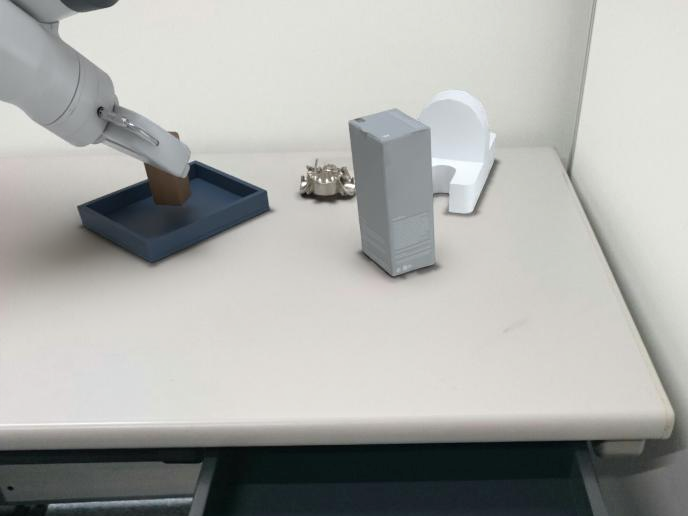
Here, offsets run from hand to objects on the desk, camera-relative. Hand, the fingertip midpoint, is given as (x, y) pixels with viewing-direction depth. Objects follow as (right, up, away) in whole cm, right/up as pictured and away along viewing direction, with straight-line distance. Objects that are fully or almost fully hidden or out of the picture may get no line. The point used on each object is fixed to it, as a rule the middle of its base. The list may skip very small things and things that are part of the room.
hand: (169, 164), depth 94 cm
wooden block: (0, -3, +3) cm, 5 cm away
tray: (0, -5, +5) cm, 7 cm away
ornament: (+20, +1, +10) cm, 22 cm away
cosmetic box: (+29, -14, -3) cm, 33 cm away
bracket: (+37, +3, +12) cm, 39 cm away
